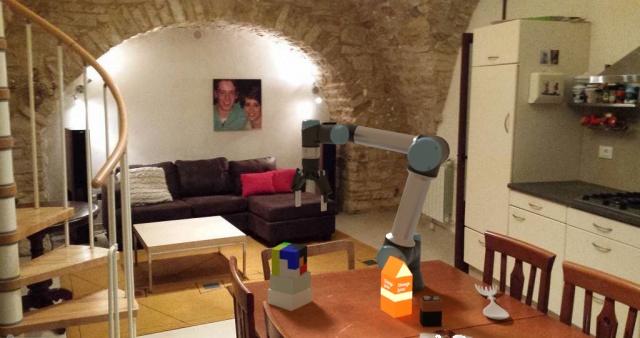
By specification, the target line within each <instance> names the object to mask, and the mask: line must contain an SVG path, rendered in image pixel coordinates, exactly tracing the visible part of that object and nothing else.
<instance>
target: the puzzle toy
mask: <svg viewBox="0 0 640 338" xmlns="http://www.w3.org/2000/svg"><path fill="white" fill-rule="evenodd" d="M270 252H271V255H270V256H271V273H272V275H274V276H282V277H288V278H295V279H296V278H297V277H299V276H300V275H302V274H303V273H305V272H306V271H308V245H305V244H300V243H299V244H298V243H290V242H283V243H280V244H278V245H276V246H275V247H273V248H271V251H270Z"/></svg>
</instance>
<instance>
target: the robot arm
mask: <svg viewBox="0 0 640 338" xmlns="http://www.w3.org/2000/svg"><path fill="white" fill-rule="evenodd" d="M300 131H301V167H296V169H295V174H294V177H293V179H292V182H291V184H290V189H291V190H293V192H294V196H293V197H294V199H295V207H296V208H297V207H301V206H302V190H301V188H302V187H303V185H304V183H306V181H313V182H314V183H315V184H316V186H317V188H318V189H319V191H320V192H321V195H320V211H321V212H325V211H327V203H328V202H329V200H328V199H329V195H330V194H333V189H332V188H331V184H330V183H329V180H328V176H327V171H326V170H325V169H322V170H320V166H321V158H320V156H321V144H327V145H337V146H338V145H345V144H346V143H350V144H355V145H362V146H367V147H372V148H377V149H381V150H385V151H386V150H387V151H391V152H396V153H400V154H401V153H402V154H406V155H407V160H408V162H407V165H406V171H407V173H408V176H407V179H406V182H405V186H404V189H403V193H402V196H401V199H400V202H399V205H398V208H397V211H396V215H395V218H394V222H393V224H392V227H391V231H389V232H387V233H386V234H385V237H384V240H383V244H382V246H380V248H379V249H378V250H377V253H376V257H375V258H376V264H377V265H378V267H379V269H380V270H381V271H382V270H383V268H384V266H385V265H386V263H387V261H388V259H389V257H390V256H392V257H394V258H397V259H399V260H401V261H403V262H404V263H405V264H406V266H407V267H408V269H409V271H410V272H411V274H412V275H413V276H412V294H413V293H420V292H422V291H423V290H424V289H425V280H424V277H423V274H422V270H421V261H422V260H421V258H422V257H421V255H422V235H421V234H420V233H418V232H416V230H417V227H418V224H419V221H420V218H421V214H422V212H423V208H424V205H425V202H426V199H427V196H428V192H429V190H430V186H431V184H432V181H434V180H435V179H437V177H438V175H439V173H440V169H441V167H442V166H441V165H443V164H445V162H446V161H448V159H449V158H450V153H451V147H450V145H449V142H448V141H447V140H446V139H445V138H444V137H442V136H439V135H428V134H421V133H419V134H417V135H411V134H408V133H402V132H396V131H389V130H384V129H378V128H373V127H367V126H363V125H358V124H357V125H356V124H354V123H350V122H346V123H345V122H344V123H340V124H339V123H338V124H321V121H320V120H319V119H315V118H311V119H307V118H306V119H303V120H302V121H301V129H300Z"/></svg>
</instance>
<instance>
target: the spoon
mask: <svg viewBox="0 0 640 338" xmlns="http://www.w3.org/2000/svg"><path fill="white" fill-rule="evenodd" d="M474 287H475V289H476V290H477V291H478V293H479V294H480V295H482V296H483V297H487V300H489V301H490V303H489V304H488V305H486V307H484V309H482V314H483V315H484V316H485V317H487V318H490V319H493V320H497V321H498V320H500V321H501V320H505V319H508V318H510V314H509V312H508V311H507V310H505V309H504V308H503V307H501V306H499V305H498V304H497V303H496V302H495V300H496V297H494V296H495V295H497V293H498V285H497V284H496V285H495V287H494V285H492V288H491V286H489V288H488V287H487V286H485V288H484V287H483V286H480V285H478V284H477V283H475V284H474Z"/></svg>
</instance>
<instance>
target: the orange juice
mask: <svg viewBox="0 0 640 338" xmlns="http://www.w3.org/2000/svg"><path fill="white" fill-rule="evenodd" d="M380 274H381V276H380V277H381V278H380V279H381V280H380V310H381V311H383V312H385V313H386V314H388V315H389V316H391V317H392V318H394V319H396V318H400V317H405V316H409V315H412V311H413V310H412V308H413V307H412V306H413V305H412V303H413V293H412V276H413V275H412V274H411V272H410V271H409V269H408V267H407V266H406V264H405V263H404V262H403V261H401V260H399V259H397V258H394V257H392V256H390V257H389V259H388V261H387V263H386V265H385V266H384V268H383V270H381V273H380Z"/></svg>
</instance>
